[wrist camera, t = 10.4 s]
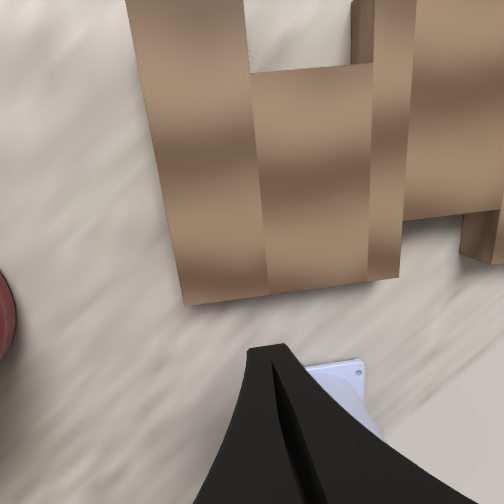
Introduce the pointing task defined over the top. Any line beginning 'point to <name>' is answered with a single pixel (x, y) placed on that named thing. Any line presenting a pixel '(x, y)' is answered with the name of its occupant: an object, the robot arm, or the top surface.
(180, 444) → the top surface
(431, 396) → the top surface
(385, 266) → the wooden slab structure
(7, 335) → the canister
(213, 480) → the robot arm
